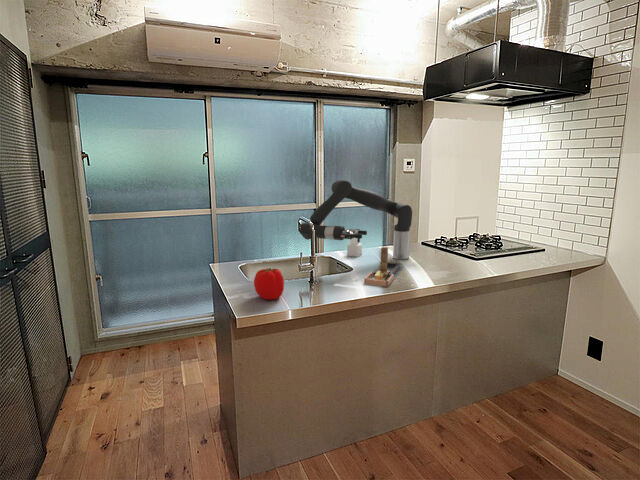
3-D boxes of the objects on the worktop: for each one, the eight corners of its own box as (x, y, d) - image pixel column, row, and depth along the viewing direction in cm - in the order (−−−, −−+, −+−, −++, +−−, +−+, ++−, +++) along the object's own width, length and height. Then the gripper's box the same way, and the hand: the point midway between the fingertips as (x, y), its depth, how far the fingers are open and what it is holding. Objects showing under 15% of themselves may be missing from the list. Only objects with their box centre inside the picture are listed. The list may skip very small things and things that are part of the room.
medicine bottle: (352, 253, 249) (352, 234, 246) (362, 254, 245) (362, 236, 243) (347, 255, 243) (347, 236, 240) (357, 257, 239) (357, 238, 237)
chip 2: (378, 278, 197) (378, 270, 196) (385, 279, 195) (386, 271, 194) (376, 280, 193) (376, 272, 192) (383, 281, 191) (384, 273, 191)
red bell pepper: (275, 305, 162) (275, 274, 159) (247, 301, 167) (246, 270, 164) (292, 293, 176) (291, 264, 173) (265, 289, 181) (264, 261, 178)
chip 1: (376, 280, 193) (376, 272, 192) (384, 281, 191) (384, 273, 191) (374, 283, 189) (374, 275, 188) (382, 284, 188) (382, 276, 187)
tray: (371, 277, 198) (371, 271, 198) (393, 280, 194) (393, 274, 193) (364, 285, 187) (364, 278, 186) (387, 288, 183) (387, 281, 182)
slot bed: (380, 266, 219) (380, 261, 218) (403, 269, 214) (403, 264, 213) (369, 277, 199) (370, 272, 198) (394, 280, 194) (395, 275, 193)
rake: (380, 273, 203) (381, 245, 200) (389, 274, 201) (391, 246, 198) (377, 277, 197) (378, 248, 193) (386, 278, 195) (387, 249, 192)
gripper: (329, 228, 198) (360, 230, 191) (339, 223, 210) (368, 224, 204) (330, 242, 199) (360, 244, 193) (339, 236, 212) (368, 238, 206)
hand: (364, 234), depth 199 cm, fingers open, 8 cm apart
